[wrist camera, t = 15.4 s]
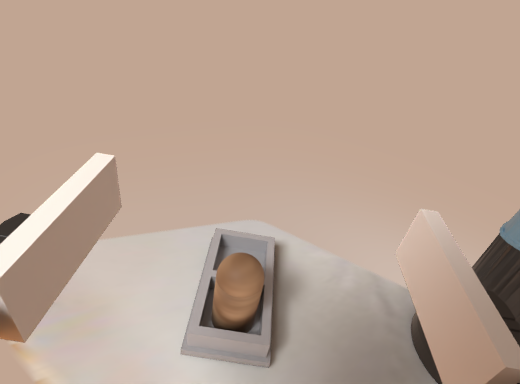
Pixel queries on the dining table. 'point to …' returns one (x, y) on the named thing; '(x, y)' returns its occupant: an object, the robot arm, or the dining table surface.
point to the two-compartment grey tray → (200, 324)
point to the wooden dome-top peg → (237, 292)
